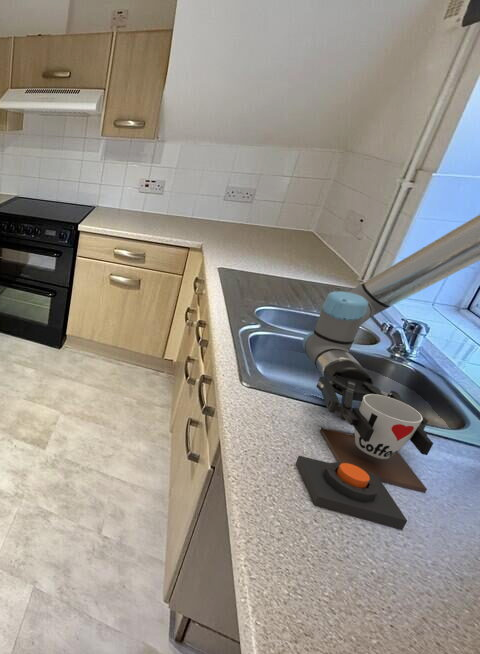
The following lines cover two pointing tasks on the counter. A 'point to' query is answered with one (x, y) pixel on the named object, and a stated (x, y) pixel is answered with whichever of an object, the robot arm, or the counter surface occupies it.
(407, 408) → the cup
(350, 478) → the console button
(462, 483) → the counter surface
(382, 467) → the trivet
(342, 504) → the console
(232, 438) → the counter surface
